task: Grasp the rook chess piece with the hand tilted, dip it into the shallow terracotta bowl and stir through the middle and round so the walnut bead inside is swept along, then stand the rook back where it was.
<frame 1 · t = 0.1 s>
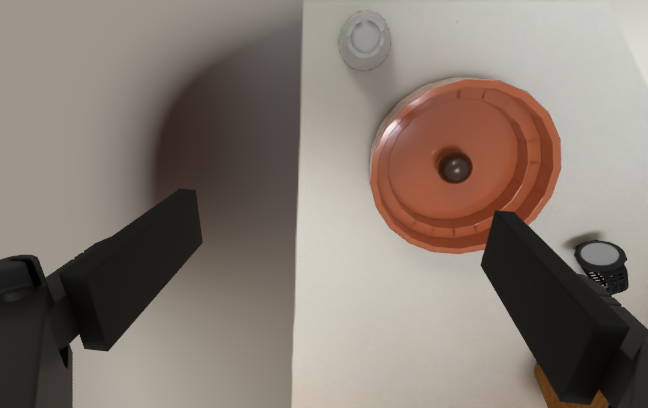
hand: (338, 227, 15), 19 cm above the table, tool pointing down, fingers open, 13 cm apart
bead: (454, 167, 30), point 2 cm above the table, touching bowl
bowl: (449, 161, 32), on the table
smartwatch: (579, 253, 35), on the table
rook chess piece: (364, 43, 29), on the table
disposable coffee cup: (561, 367, 41), on the table
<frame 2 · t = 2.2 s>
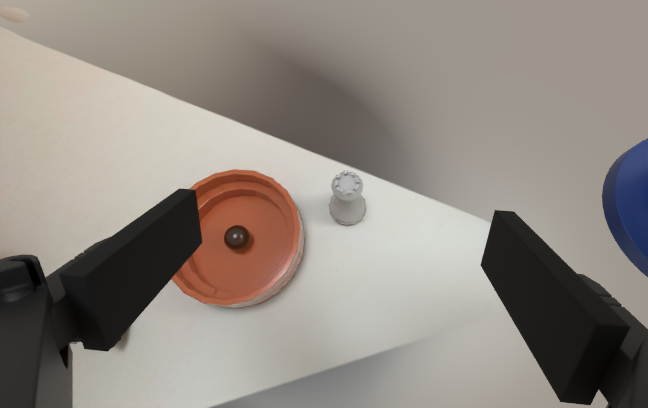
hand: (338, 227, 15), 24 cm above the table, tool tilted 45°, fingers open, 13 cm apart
bead: (237, 237, 39), point 2 cm above the table, touching bowl
bowl: (242, 242, 40), on the table
rook chess piece: (347, 209, 41), on the table
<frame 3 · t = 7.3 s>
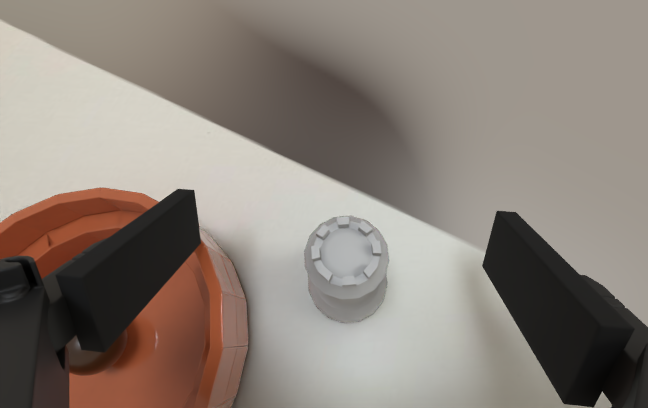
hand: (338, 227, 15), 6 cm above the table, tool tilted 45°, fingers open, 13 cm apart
bead: (93, 342, 17), point 2 cm above the table, touching bowl
bowl: (119, 342, 19), on the table
rook chess piece: (347, 283, 20), on the table
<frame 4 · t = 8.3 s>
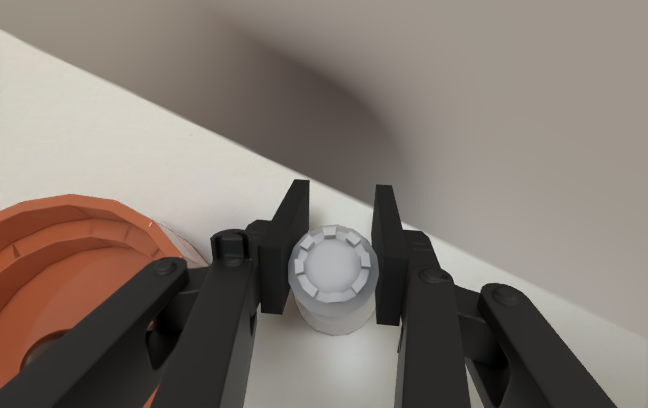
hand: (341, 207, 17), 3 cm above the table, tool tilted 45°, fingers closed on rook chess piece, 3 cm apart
bead: (61, 362, 16), point 2 cm above the table, touching bowl
bowl: (92, 359, 18), on the table
rook chess piece: (336, 292, 19), on the table, touching gripper
when the fingers open (6 cm above the table, at t = 14.0 s): rook chess piece stays where it is, resting on bead, bowl.
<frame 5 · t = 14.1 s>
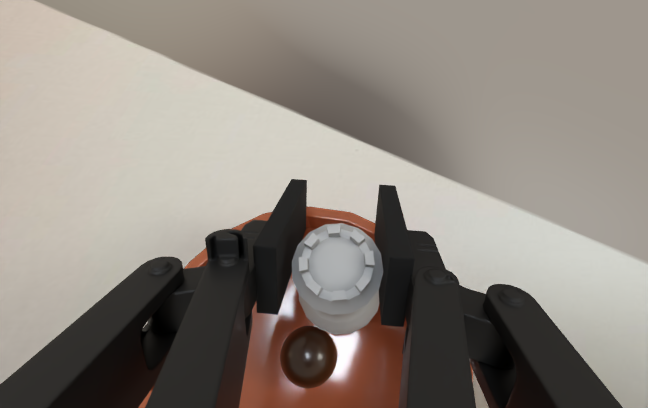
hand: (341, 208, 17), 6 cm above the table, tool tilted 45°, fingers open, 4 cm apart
bead: (308, 356, 18), point 2 cm above the table, touching bowl, rook chess piece
bowl: (311, 356, 19), on the table
rook chess piece: (339, 291, 19), point 2 cm above the table, touching bead, bowl
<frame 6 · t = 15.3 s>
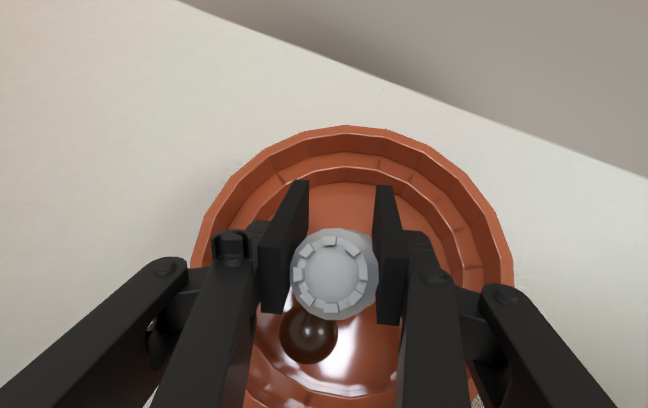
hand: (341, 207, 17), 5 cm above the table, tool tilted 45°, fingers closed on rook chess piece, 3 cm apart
bead: (308, 332, 17), point 2 cm above the table, tilted 132°, touching bowl, rook chess piece
bowl: (346, 275, 20), on the table
rook chess piece: (348, 269, 19), point 1 cm above the table, touching bead, gripper
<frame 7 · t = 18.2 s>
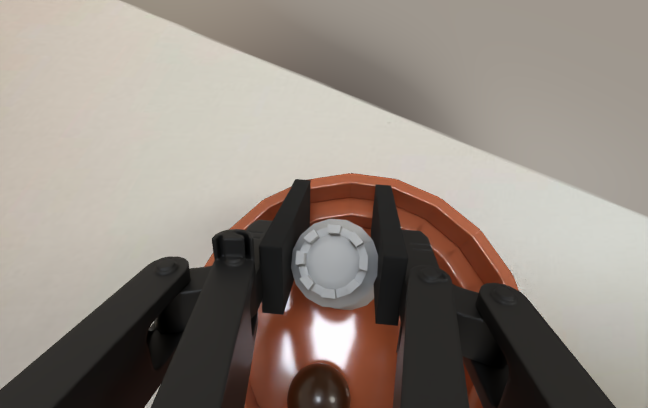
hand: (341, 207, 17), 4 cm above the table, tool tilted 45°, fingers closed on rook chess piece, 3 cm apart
bead: (318, 397, 16), point 2 cm above the table, tilted 119°, touching bowl
bowl: (350, 330, 19), on the table
rook chess piece: (346, 269, 19), point 1 cm above the table, touching gripper
when the fingers open (4 cm above the table, at t = 25.0 s): rook chess piece stays where it is, on the table.
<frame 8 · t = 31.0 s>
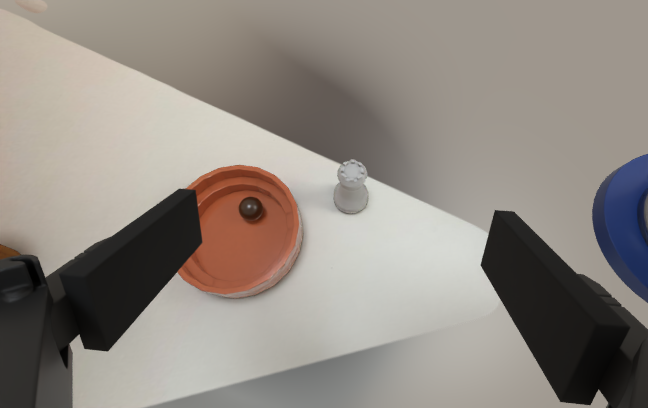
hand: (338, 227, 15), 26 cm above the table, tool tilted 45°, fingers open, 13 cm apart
bead: (250, 208, 41), point 2 cm above the table, tilted 131°, touching bowl
bowl: (242, 235, 42), on the table
rook chess piece: (350, 199, 43), on the table
disposable coffee cup: (0, 273, 42), on the table
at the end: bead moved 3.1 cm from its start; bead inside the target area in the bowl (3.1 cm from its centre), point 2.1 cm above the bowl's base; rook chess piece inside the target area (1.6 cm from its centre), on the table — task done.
